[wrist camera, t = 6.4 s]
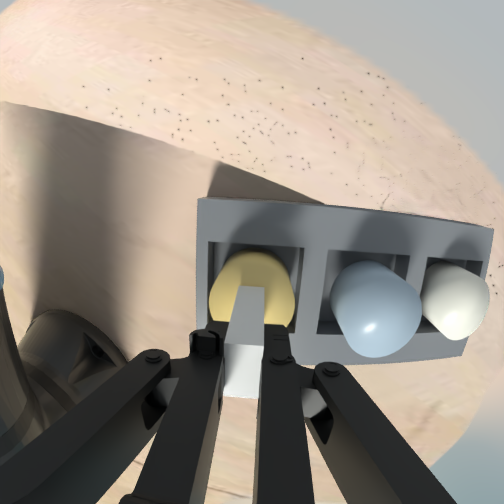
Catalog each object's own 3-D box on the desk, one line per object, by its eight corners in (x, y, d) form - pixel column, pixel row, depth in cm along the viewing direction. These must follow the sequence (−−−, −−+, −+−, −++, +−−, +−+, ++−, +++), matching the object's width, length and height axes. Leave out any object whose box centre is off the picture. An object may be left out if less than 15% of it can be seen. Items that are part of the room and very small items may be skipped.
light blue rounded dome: (324, 326, 21) (337, 358, 16) (334, 257, 20) (352, 277, 15) (387, 326, 21) (409, 355, 16) (401, 262, 19) (430, 280, 15)
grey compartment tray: (204, 338, 25) (197, 357, 22) (206, 196, 22) (197, 198, 19) (447, 341, 24) (461, 355, 21) (474, 224, 21) (494, 229, 18)
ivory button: (409, 318, 22) (432, 342, 18) (421, 259, 21) (450, 275, 17) (453, 316, 22) (478, 337, 18) (466, 262, 21) (495, 277, 16)
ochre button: (218, 310, 23) (208, 338, 18) (220, 245, 21) (209, 260, 17) (285, 315, 22) (289, 344, 18) (292, 250, 21) (299, 266, 17)
